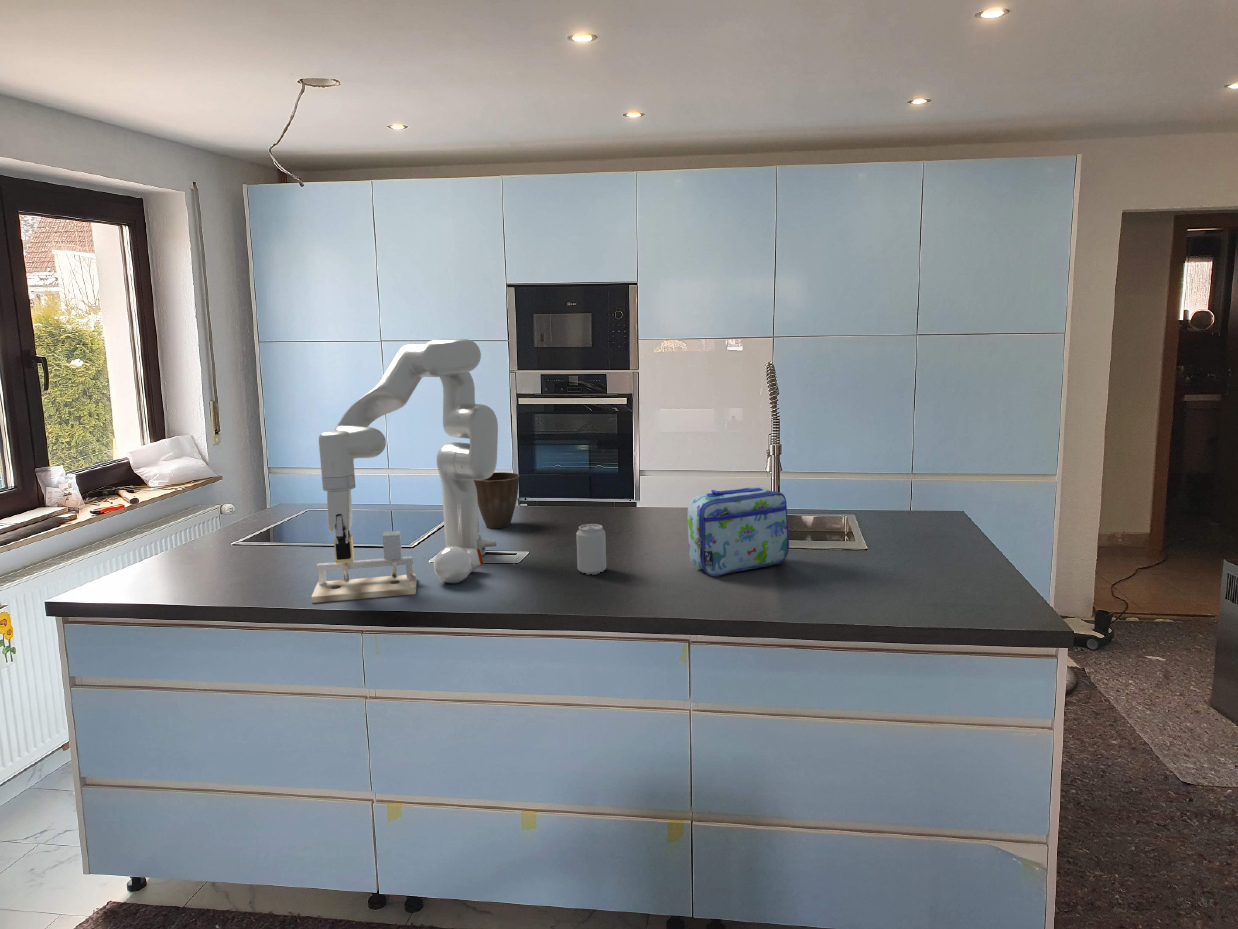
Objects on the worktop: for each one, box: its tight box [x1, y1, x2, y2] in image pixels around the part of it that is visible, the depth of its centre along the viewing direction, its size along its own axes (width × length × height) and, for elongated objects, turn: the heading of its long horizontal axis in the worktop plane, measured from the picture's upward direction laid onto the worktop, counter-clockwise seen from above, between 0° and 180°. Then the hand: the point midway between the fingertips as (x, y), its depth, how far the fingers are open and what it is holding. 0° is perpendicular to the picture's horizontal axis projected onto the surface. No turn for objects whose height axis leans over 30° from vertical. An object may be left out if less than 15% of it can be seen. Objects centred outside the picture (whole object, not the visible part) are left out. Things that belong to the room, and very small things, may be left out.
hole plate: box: [310, 573, 417, 604], centre depth 216 cm, size 24×12×2 cm, turn 102°
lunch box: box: [687, 486, 790, 577], centre depth 226 cm, size 26×11×21 cm, turn 111°
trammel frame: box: [316, 530, 414, 585], centre depth 216 cm, size 23×7×12 cm, turn 102°
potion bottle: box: [433, 546, 485, 584], centre depth 223 cm, size 9×10×15 cm
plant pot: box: [473, 471, 520, 529], centre depth 277 cm, size 15×15×16 cm
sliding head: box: [333, 533, 355, 583], centre depth 215 cm, size 4×7×12 cm, turn 12°
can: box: [575, 523, 607, 575], centre depth 227 cm, size 8×8×12 cm
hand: (344, 555), depth 214 cm, fingers closed on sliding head, 4 cm apart
